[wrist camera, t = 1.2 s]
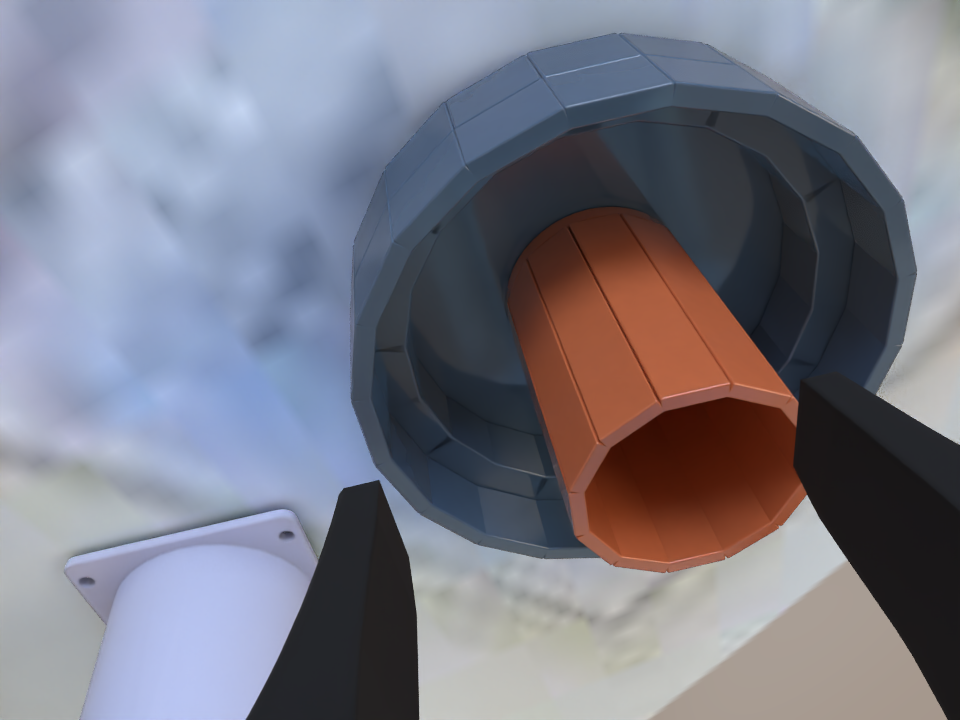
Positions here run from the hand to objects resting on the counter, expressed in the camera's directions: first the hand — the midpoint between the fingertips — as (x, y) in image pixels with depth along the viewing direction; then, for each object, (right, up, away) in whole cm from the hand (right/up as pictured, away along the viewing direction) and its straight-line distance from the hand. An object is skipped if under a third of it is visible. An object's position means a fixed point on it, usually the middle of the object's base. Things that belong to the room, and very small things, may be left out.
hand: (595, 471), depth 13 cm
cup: (+1, +4, +9) cm, 10 cm away
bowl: (+1, +4, +10) cm, 11 cm away
